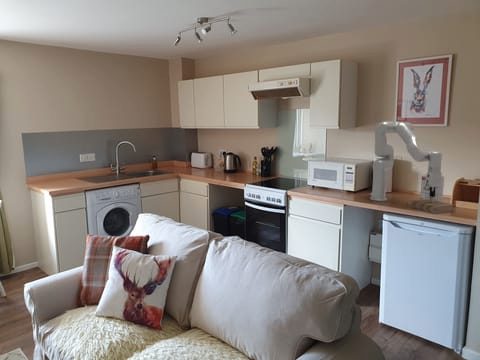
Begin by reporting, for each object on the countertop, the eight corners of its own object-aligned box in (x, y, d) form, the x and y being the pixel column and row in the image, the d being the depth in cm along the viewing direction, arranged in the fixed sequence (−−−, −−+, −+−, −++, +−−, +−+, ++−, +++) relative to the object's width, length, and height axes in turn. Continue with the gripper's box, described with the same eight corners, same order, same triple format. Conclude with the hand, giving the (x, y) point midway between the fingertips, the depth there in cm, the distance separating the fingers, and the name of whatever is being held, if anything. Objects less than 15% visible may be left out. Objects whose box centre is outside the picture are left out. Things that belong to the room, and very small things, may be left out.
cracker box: (419, 202, 274) (421, 174, 271) (424, 201, 277) (426, 173, 274) (437, 205, 262) (439, 176, 259) (442, 204, 265) (444, 176, 262)
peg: (427, 209, 252) (428, 196, 250) (431, 208, 253) (432, 196, 251) (431, 210, 249) (432, 197, 247) (434, 209, 250) (436, 196, 248)
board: (410, 207, 258) (411, 200, 257) (428, 205, 263) (429, 198, 262) (433, 213, 239) (434, 206, 238) (452, 211, 244) (453, 204, 243)
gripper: (430, 171, 241) (427, 198, 243) (447, 170, 245) (445, 196, 248) (421, 169, 248) (419, 196, 251) (438, 168, 252) (436, 194, 255)
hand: (432, 196), depth 249 cm, fingers closed
